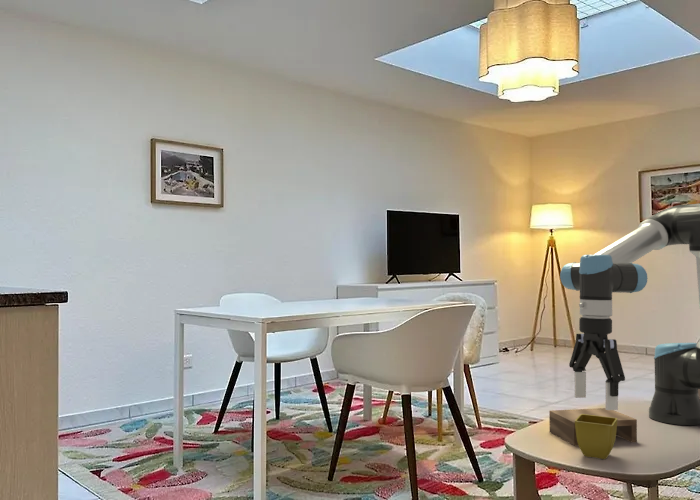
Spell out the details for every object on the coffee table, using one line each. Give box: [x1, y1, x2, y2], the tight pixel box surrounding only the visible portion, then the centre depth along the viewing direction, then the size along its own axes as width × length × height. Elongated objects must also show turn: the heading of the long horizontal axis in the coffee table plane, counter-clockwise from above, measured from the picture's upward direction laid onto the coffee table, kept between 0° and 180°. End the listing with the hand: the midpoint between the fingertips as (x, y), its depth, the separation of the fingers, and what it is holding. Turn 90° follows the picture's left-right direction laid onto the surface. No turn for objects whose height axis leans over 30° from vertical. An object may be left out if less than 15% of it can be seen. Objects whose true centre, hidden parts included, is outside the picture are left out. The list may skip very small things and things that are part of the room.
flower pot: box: [575, 414, 618, 460], centre depth 152 cm, size 9×9×9 cm
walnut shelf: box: [548, 407, 638, 447], centre depth 168 cm, size 18×13×6 cm
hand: (595, 403), depth 152 cm, fingers open, 13 cm apart
